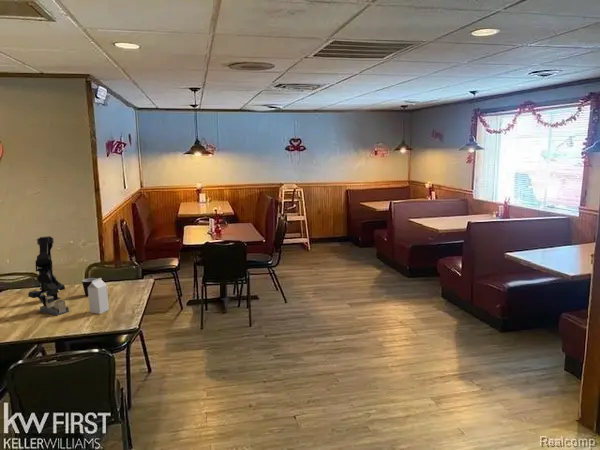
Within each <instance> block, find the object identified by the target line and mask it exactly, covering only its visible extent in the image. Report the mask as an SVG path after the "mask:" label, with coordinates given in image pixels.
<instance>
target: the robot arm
mask: <svg viewBox="0 0 600 450" xmlns="http://www.w3.org/2000/svg"><path fill="white" fill-rule="evenodd" d="M36 242H37V243H36V245H38V247H39V253H38V254H37V256H36V259H35V272H38V275H37V278H36V280H37V281H38V283H39V285H40V287H39V290H32V291H29V292H28V294H27V295H28V298H31V299H36V298H38V299H39V301H40V302H41V304H42V306H43V305H44V306H46V301H45V296H48V295H50V296H53V298H54V301H58V300H61V297H60V296H59V297H58V293H60V291H63V290H65V289H66V286H65V285H64V284H63V283H61V282H60V281H58V279H57V276H56V275H55V274H54V272H53V271H54V269H53V260H52V249H53V246H54V244H55V241H54V237H52V236H50V235H48V236H40V237H39V238H36Z"/></svg>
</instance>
